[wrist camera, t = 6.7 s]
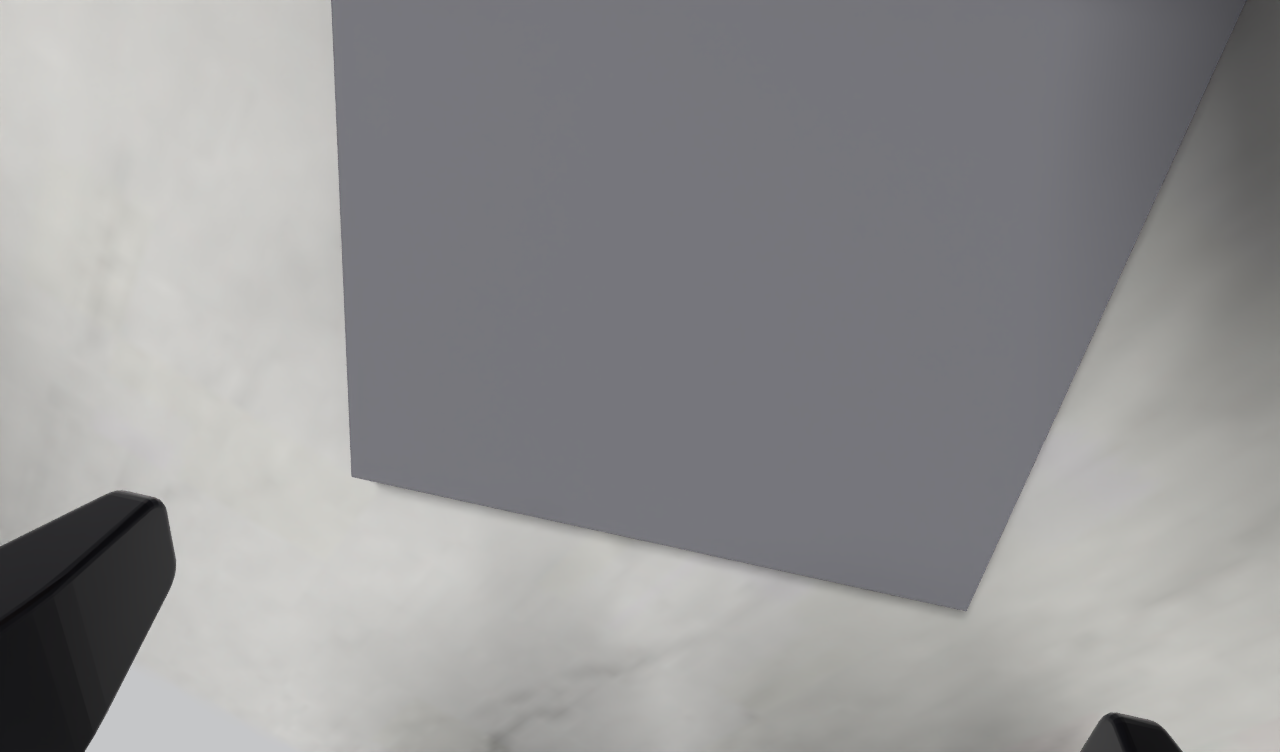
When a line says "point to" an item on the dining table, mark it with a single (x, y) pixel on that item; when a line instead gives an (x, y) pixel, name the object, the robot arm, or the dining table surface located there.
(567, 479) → the coaster
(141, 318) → the dining table surface
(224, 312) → the dining table surface
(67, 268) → the dining table surface
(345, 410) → the dining table surface
